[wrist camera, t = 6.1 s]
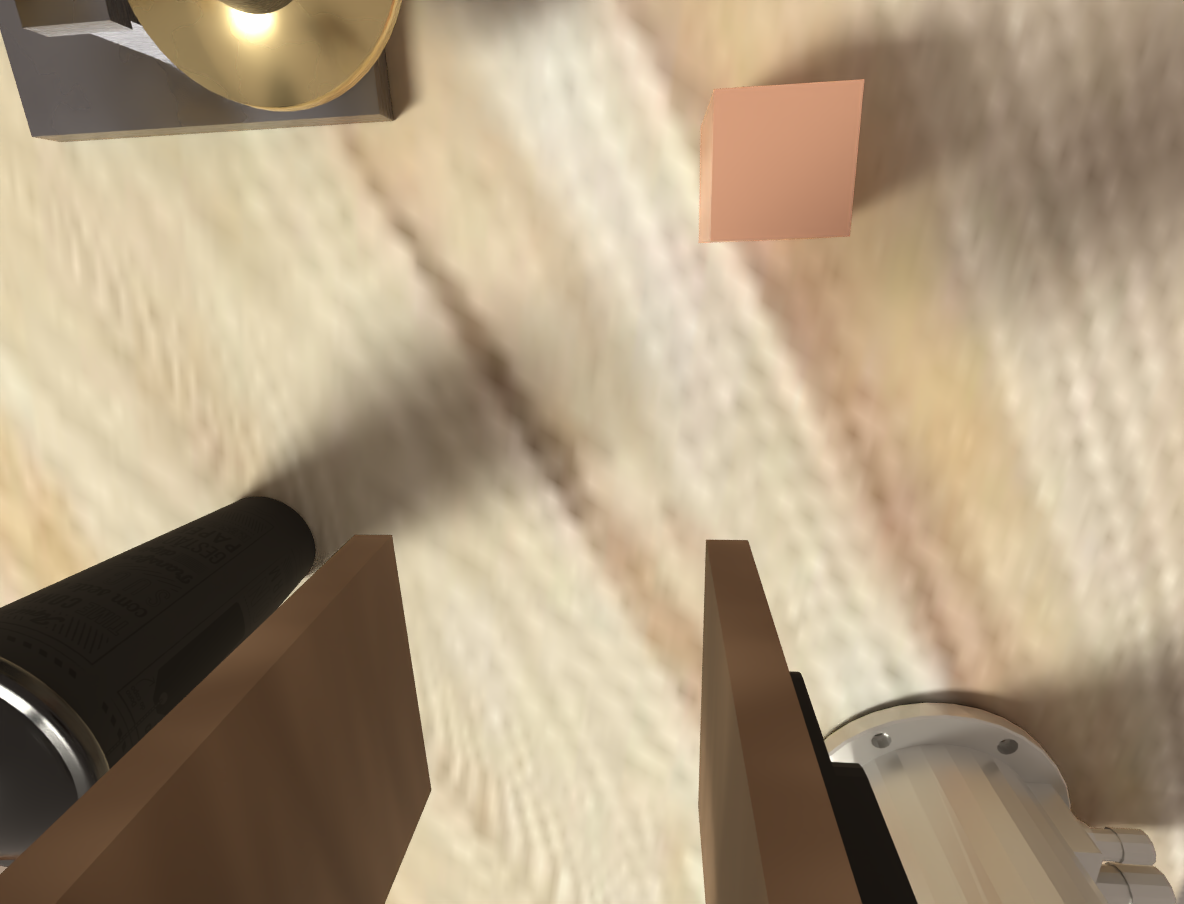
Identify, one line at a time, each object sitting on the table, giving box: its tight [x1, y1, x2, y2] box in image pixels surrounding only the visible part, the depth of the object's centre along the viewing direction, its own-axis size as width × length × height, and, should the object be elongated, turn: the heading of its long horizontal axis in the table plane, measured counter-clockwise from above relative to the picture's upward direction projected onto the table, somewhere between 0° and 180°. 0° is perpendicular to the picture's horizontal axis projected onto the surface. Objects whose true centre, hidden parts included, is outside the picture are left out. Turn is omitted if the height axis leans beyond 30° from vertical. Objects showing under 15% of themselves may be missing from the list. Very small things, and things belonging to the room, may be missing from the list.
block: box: [699, 79, 864, 243], centre depth 20 cm, size 4×4×6 cm
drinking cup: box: [0, 497, 315, 867], centre depth 20 cm, size 8×8×20 cm
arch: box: [0, 535, 862, 904], centre depth 8 cm, size 7×6×8 cm
